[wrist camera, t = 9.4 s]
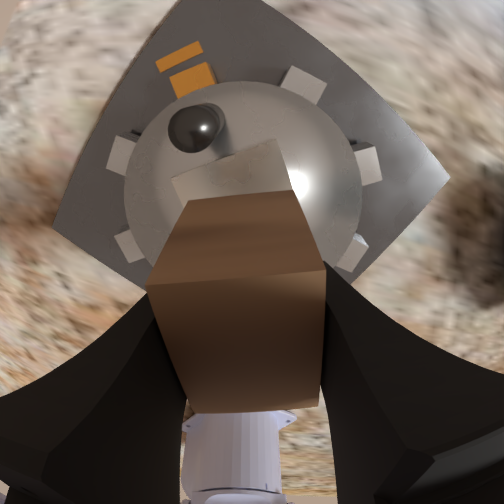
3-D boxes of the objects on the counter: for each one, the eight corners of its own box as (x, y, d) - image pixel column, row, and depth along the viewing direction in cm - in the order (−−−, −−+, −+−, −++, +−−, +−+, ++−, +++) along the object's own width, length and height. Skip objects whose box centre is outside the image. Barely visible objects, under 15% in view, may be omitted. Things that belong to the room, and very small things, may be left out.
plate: (267, 354, 23) (267, 359, 23) (54, 224, 18) (50, 228, 18) (447, 175, 17) (451, 177, 16) (210, -27, 11) (209, -30, 11)
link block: (298, 300, 12) (318, 406, 8) (210, 308, 12) (193, 413, 8) (293, 189, 10) (326, 270, 6) (188, 200, 10) (144, 285, 6)
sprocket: (388, 265, 19) (424, 322, 14) (181, 325, 21) (166, 390, 16) (329, 29, 12) (367, 3, 7) (78, 130, 15) (16, 152, 10)
